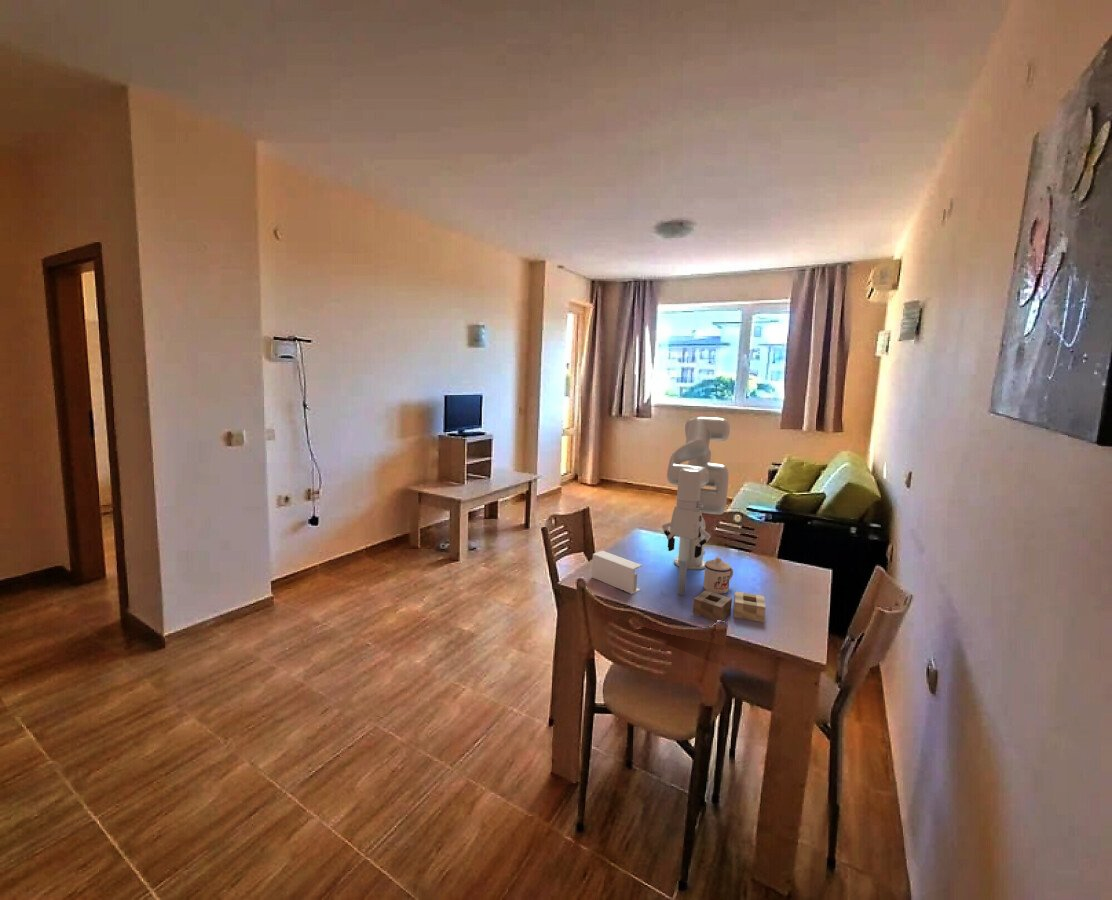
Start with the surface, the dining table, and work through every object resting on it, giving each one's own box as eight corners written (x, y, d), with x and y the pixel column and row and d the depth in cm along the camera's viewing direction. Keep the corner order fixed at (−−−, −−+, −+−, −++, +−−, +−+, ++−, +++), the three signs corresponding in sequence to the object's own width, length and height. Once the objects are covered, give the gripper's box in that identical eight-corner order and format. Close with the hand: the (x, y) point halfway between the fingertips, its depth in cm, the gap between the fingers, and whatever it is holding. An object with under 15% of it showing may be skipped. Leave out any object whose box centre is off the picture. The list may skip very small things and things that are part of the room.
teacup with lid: (715, 596, 179) (718, 564, 177) (697, 586, 187) (699, 555, 185) (740, 590, 184) (743, 559, 182) (722, 581, 192) (724, 551, 190)
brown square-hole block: (704, 604, 172) (705, 590, 171) (730, 612, 166) (732, 598, 165) (692, 613, 165) (693, 598, 164) (720, 622, 159) (721, 607, 158)
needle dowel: (679, 591, 181) (681, 559, 179) (686, 593, 180) (688, 560, 178) (676, 593, 179) (678, 560, 177) (682, 596, 178) (685, 562, 176)
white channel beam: (641, 590, 181) (642, 565, 180) (631, 594, 177) (632, 569, 176) (599, 573, 195) (600, 549, 194) (589, 577, 192) (590, 552, 190)
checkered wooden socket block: (733, 605, 172) (735, 591, 171) (762, 610, 169) (764, 595, 168) (733, 617, 163) (735, 602, 162) (764, 622, 160) (765, 607, 160)
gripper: (716, 507, 172) (712, 557, 174) (669, 498, 183) (666, 545, 185) (707, 511, 166) (703, 562, 168) (659, 502, 177) (656, 550, 179)
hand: (684, 553), depth 177 cm, fingers open, 9 cm apart
